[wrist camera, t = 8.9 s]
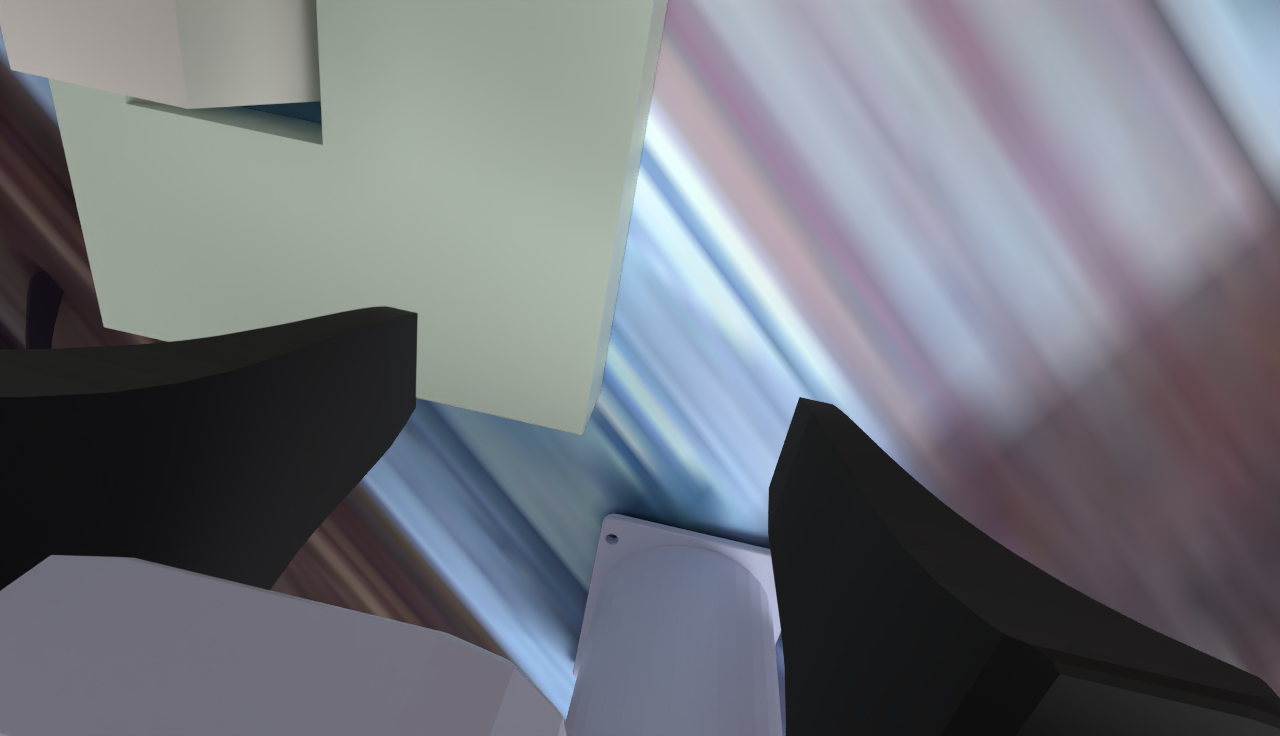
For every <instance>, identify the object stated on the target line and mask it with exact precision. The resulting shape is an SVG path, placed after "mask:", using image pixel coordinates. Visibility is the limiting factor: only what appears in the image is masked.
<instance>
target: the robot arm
mask: <svg viewBox="0 0 1280 736" xmlns="http://www.w3.org/2000/svg"><path fill="white" fill-rule="evenodd" d="M417 320H418V313H415V312H410V311H406V310H401V309H397V308H392V307H388V306H379V307H368V308H361V309H355V310H350V311H345V312H339V313H334V314H329V315H325V316H320V317H315V318H310V319H305V320H300V321H296V322H291V323H286V324H281V325H275V326H270V327H264V328H258V329H253V330H247V331H242V332H236V333H230V334H225V335H219V336H212V337H205V338H197V339H190V340H181V341H172V342H162V343H152V344H141V345H128V346H107V347H87V348H67V349H10V350H0V736H782V725H781V713H780V701H779V689H778V676H777V664H776V652H775V645H776V642H777V640H778V637H779V635H780V632H781V634H782V641H783V653H784V664H785V699H786V736H1280V698H1279V697H1278V696H1277V694H1276V693H1275V692H1274V691H1273V690H1272V689H1271V688H1270V687H1269V686H1268V684H1267V683H1265V682H1264V681H1263V680H1262V679H1260V678H1259V677H1257V676H1255V675H1252V674H1250V673H1248V672H1246V671H1243V670H1241V669H1239V668H1237V667H1235V666H1232V665H1230V664H1228V663H1226V662H1223V661H1221V660H1219V659H1217V658H1214V657H1212V656H1210V655H1208V654H1206V653H1203V652H1201V651H1199V650H1197V649H1194V648H1192V647H1190V646H1188V645H1186V644H1183V643H1181V642H1179V641H1177V640H1174V639H1172V638H1170V637H1168V636H1166V635H1163V634H1161V633H1159V632H1157V631H1155V630H1153V629H1150V628H1148V627H1146V626H1144V625H1142V624H1140V623H1138V622H1136V621H1134V620H1133V619H1131V618H1129V617H1127V616H1125V615H1123V614H1121V613H1119V612H1117V611H1115V610H1113V609H1111V608H1109V607H1107V606H1105V605H1103V604H1101V603H1099V602H1098V601H1096V600H1094V599H1092V598H1090V597H1088V596H1086V595H1085V594H1083V593H1081V592H1079V591H1077V590H1075V589H1074V588H1072V587H1070V586H1068V585H1066V584H1065V583H1063V582H1061V581H1059V580H1058V579H1056V578H1054V577H1053V576H1051V575H1049V574H1048V573H1046V572H1044V571H1043V570H1041V569H1039V568H1038V567H1036V566H1034V565H1033V564H1031V563H1029V562H1028V561H1026V560H1025V559H1023V558H1021V557H1020V556H1018V555H1016V554H1015V553H1013V552H1012V551H1010V550H1009V549H1007V548H1005V547H1004V546H1002V545H1001V544H999V543H998V542H996V541H995V540H993V539H992V538H990V537H989V536H988V535H986V534H985V533H983V532H982V531H981V530H979V529H978V528H976V527H975V526H974V525H972V524H971V523H969V522H968V521H967V520H965V519H964V518H962V517H961V516H960V515H958V514H957V513H956V512H954V511H953V510H952V509H950V508H949V507H948V506H947V505H945V504H944V503H943V502H941V501H940V500H939V499H938V498H937V497H935V496H934V495H933V494H932V493H931V492H929V491H928V490H927V489H926V488H925V487H923V486H922V485H921V484H920V483H919V482H918V481H916V480H915V479H914V478H913V477H912V476H911V475H909V474H908V473H907V472H906V471H905V470H904V469H903V468H902V467H901V466H899V465H898V464H897V463H896V462H895V461H894V460H893V459H892V458H891V457H890V456H889V455H888V454H887V453H885V452H884V451H883V450H882V449H881V448H880V447H879V446H878V445H877V444H876V443H875V442H874V441H873V440H872V439H871V438H870V437H869V436H868V435H867V434H866V433H865V432H864V431H863V430H862V429H861V428H859V427H858V426H857V425H856V424H855V423H854V422H853V421H852V420H851V419H850V418H849V417H848V416H847V415H846V414H844V413H843V412H842V411H841V410H840V409H839V408H837V407H836V406H834V405H833V404H828V403H824V402H819V401H815V400H810V399H805V398H801V397H800V398H799V400H798V403H797V406H796V409H795V412H794V415H793V418H792V421H791V424H790V427H789V430H788V433H787V436H786V439H785V442H784V445H783V448H782V451H781V454H780V457H779V460H778V463H777V466H776V469H775V472H774V474H773V477H772V480H771V483H770V486H769V509H768V535H769V543H770V549H767V548H763V547H758V546H754V545H750V544H745V543H741V542H737V541H732V540H728V539H724V538H719V537H715V536H711V535H706V534H702V533H698V532H693V531H689V530H685V529H680V528H676V527H672V526H667V525H663V524H659V523H654V522H650V521H646V520H641V519H637V518H633V517H628V516H624V515H620V514H609V515H607V516H606V517H605V518H604V520H603V523H602V527H601V532H600V537H599V542H598V547H597V552H596V557H595V562H594V567H593V573H592V578H591V583H590V588H589V593H588V598H587V603H586V608H585V613H584V618H583V624H582V629H581V634H580V639H579V644H578V649H577V654H576V659H575V664H574V670H573V674H574V676H575V677H576V678H577V679H576V683H575V687H574V691H573V695H572V699H571V703H570V707H569V711H568V715H567V719H566V723H565V725H564V720H563V716H562V715H561V713H560V712H559V711H558V710H557V709H556V707H555V706H554V705H553V704H552V703H551V702H550V701H549V700H548V699H547V698H546V697H545V696H544V695H543V693H542V692H541V691H540V690H539V689H538V688H537V687H536V686H535V685H534V684H533V683H532V682H531V681H530V680H529V679H528V678H527V677H526V676H525V675H524V674H523V673H522V672H521V671H520V670H519V669H518V668H517V667H516V666H515V665H514V664H513V663H512V662H511V661H510V660H507V659H505V658H503V657H500V656H498V655H496V654H494V653H491V652H489V651H487V650H484V649H482V648H480V647H478V646H475V645H473V644H471V643H468V642H466V641H464V640H462V639H459V638H457V637H455V636H452V635H450V634H448V633H445V632H441V631H436V630H432V629H428V628H424V627H420V626H416V625H411V624H407V623H403V622H399V621H395V620H391V619H386V618H382V617H378V616H374V615H370V614H366V613H362V612H357V611H353V610H349V609H345V608H341V607H337V606H332V605H328V604H324V603H320V602H316V601H312V600H307V599H303V598H299V597H295V596H291V595H287V594H283V593H278V592H274V591H270V589H271V588H272V586H273V585H274V584H275V582H276V581H277V579H278V578H279V577H280V575H281V574H282V573H283V571H284V570H285V568H286V567H287V566H288V564H289V563H290V561H291V560H292V559H293V557H294V556H295V555H296V553H297V552H298V551H299V549H300V548H301V547H302V546H303V545H304V543H305V542H306V541H307V540H308V538H309V537H310V536H311V535H312V534H313V532H314V531H315V530H316V529H317V528H318V527H319V526H320V525H321V523H322V522H323V521H324V520H325V519H326V518H327V517H328V516H329V515H330V514H331V512H332V511H333V510H334V509H335V508H336V507H337V506H338V505H339V504H340V503H341V501H342V500H343V499H344V498H345V497H346V496H347V495H348V494H349V493H350V492H351V490H352V489H353V488H354V487H355V486H356V485H357V484H358V483H359V482H360V481H361V479H362V478H363V477H364V476H365V475H366V474H367V473H368V472H369V470H370V469H371V468H372V467H373V466H374V465H375V464H376V463H377V461H378V460H379V459H380V458H381V457H382V456H383V455H384V453H385V452H386V451H387V450H388V449H389V448H390V446H391V445H392V444H393V442H394V441H395V439H396V438H397V436H398V435H399V433H400V432H401V430H402V429H403V427H404V426H405V424H406V422H407V421H408V419H409V417H410V416H411V414H412V413H413V411H414V409H415V408H416V369H417ZM609 534H614V535H616V536H617V538H612V537H609Z"/></svg>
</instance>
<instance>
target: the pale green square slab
mask: <svg viewBox="0 0 1280 736" xmlns="http://www.w3.org/2000/svg"><path fill="white" fill-rule="evenodd" d="M667 5H668V0H316V7H317V29H318V51H319V72H320V94H321V116H322V124H321V123H316V122H311V121H306V120H302V119H297V118H292V117H287V116H282V115H278V114H273V113H268V112H263V111H259V110H254V109H249V108H244V107H240V106H231V107H214V108H196V109H186V108H181V107H177V106H172V105H168V104H163V103H158V102H154V101H149V100H145V99H140V98H136V97H131V96H127V95H122V94H118V93H113V92H109V91H104V90H100V89H95V88H91V87H86V86H82V85H77V84H73V83H68V82H64V81H59V80H55V79H50V78H48V80H49V84H50V89H51V93H52V98H53V102H54V107H55V111H56V116H57V120H58V124H59V129H60V133H61V138H62V142H63V147H64V151H65V156H66V160H67V165H68V169H69V174H70V178H71V182H72V187H73V191H74V196H75V200H76V205H77V209H78V214H79V218H80V223H81V227H82V232H83V236H84V240H85V245H86V249H87V254H88V258H89V263H90V267H91V272H92V276H93V281H94V285H95V290H96V294H97V299H98V303H99V307H100V312H101V316H102V321H103V325H104V327H106V328H110V329H115V330H119V331H124V332H128V333H132V334H137V335H141V336H146V337H150V338H155V339H159V340H163V341H168V342H172V341H181V340H190V339H197V338H205V337H212V336H219V335H225V334H230V333H236V332H242V331H247V330H253V329H258V328H264V327H270V326H275V325H281V324H286V323H291V322H296V321H300V320H305V319H310V318H315V317H320V316H325V315H329V314H334V313H339V312H345V311H350V310H355V309H361V308H368V307H379V306H388V307H392V308H397V309H401V310H406V311H410V312H415V313H418V320H417V369H416V398H420V399H424V400H428V401H433V402H437V403H442V404H446V405H451V406H455V407H459V408H464V409H468V410H473V411H477V412H482V413H486V414H490V415H495V416H499V417H504V418H508V419H512V420H517V421H521V422H526V423H530V424H535V425H539V426H543V427H548V428H552V429H557V430H561V431H565V432H570V433H574V434H579V435H583V433H584V431H585V429H586V426H587V424H588V421H589V419H590V416H591V414H592V411H593V409H594V406H595V404H596V401H597V399H598V397H599V394H600V391H601V386H602V380H603V374H604V368H605V362H606V357H607V351H608V345H609V339H610V334H611V328H612V322H613V316H614V311H615V305H616V299H617V293H618V287H619V282H620V276H621V270H622V264H623V259H624V253H625V247H626V241H627V236H628V230H629V224H630V218H631V212H632V207H633V201H634V195H635V189H636V184H637V178H638V172H639V166H640V160H641V155H642V149H643V143H644V137H645V132H646V126H647V120H648V114H649V109H650V103H651V97H652V91H653V85H654V80H655V74H656V68H657V62H658V57H659V51H660V45H661V39H662V34H663V28H664V22H665V16H666V10H667Z"/></svg>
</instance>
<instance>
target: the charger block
mask: <svg viewBox="0 0 1280 736" xmlns="http://www.w3.org/2000/svg"><path fill="white" fill-rule="evenodd" d="M0 26H1V30H2V34H3V39H4V43H5V47H6V51H7V55H8V59H9V64H10V68H11V70H14V71H18V72H23V73H27V74H32V75H36V76H41V77H45V78H50V79H55V80H59V81H64V82H68V83H73V84H77V85H82V86H86V87H91V88H95V89H100V90H104V91H109V92H113V93H118V94H122V95H127V96H131V97H136V98H140V99H145V100H149V101H154V102H158V103H163V104H168V105H172V106H177V107H181V108H186V109H196V108H214V107H231V106H248V105H265V104H282V103H299V102H316V101H321V94H320V72H319V51H318V29H317V7H316V0H0Z"/></svg>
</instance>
